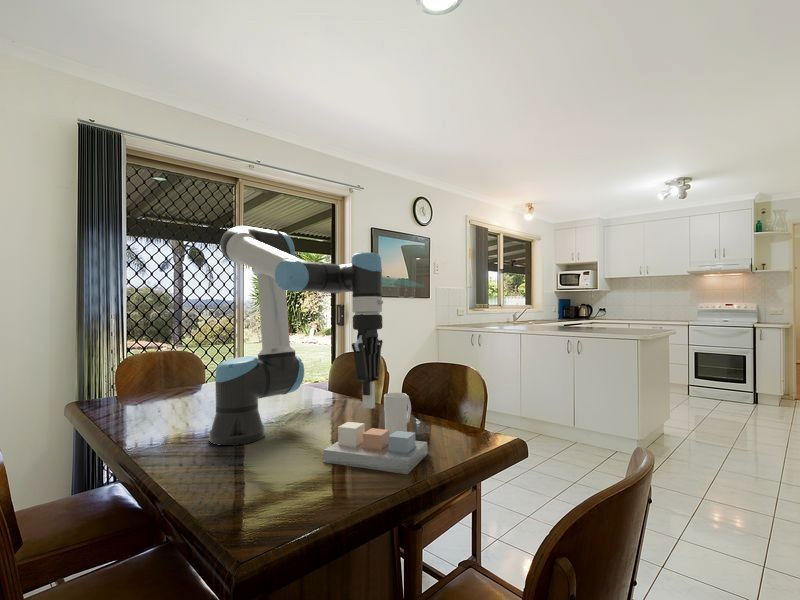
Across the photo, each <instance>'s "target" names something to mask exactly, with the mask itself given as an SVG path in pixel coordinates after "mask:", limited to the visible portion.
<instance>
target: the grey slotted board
mask: <svg viewBox="0 0 800 600" xmlns="http://www.w3.org/2000/svg"><path fill="white" fill-rule="evenodd" d="M415 443H416V448H415V449H414V450H413V451H412V452H411V453H409V454H405V453H397V452H389V446H387V447H386V448H385V449H383V450H382V451H381V450H373V449H365V448H363V443H362V444H361V445H359V446H358V447H349V446H340V445H338V441H336V442H335V443H332V444H331V445H329V446H327V447H325V448H324V449H323V450H322V455H323V456H322V457H323V463H328V464H334V465H341V466H348V467H353V468H354V467H356V468H360V469H361V468H362V469H369V470H376V471H382V472H388V473H389V472H390V473H396V474H401V475H408V474H409V473H410V472H411V471H412V470H413V469H414V468H415V467H416V466H417V465H418V464H419V463H420V462H421V461H422V460H424V458H425V457H426V456H427V455H428V441H420V440H415Z"/></svg>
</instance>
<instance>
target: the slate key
mask: <svg viewBox="0 0 800 600" xmlns="http://www.w3.org/2000/svg"><path fill="white" fill-rule="evenodd" d="M415 441H416V432H415V431H414V432H413V431H407V432H405V431H395V432H394V433H393V434H391V435H390V436H389V452H397V453H405V454H409V453H411V452H412V451H413V450H414V449H415V448H416V443H415Z"/></svg>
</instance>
